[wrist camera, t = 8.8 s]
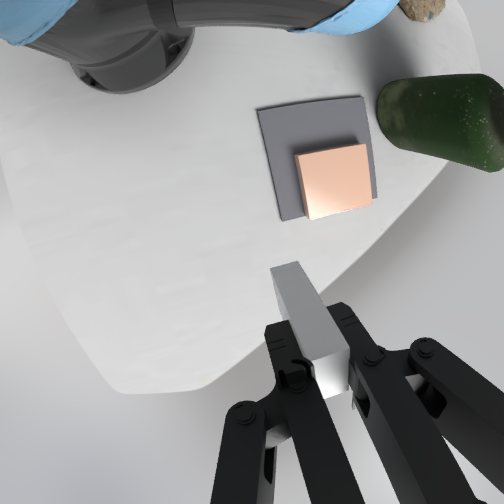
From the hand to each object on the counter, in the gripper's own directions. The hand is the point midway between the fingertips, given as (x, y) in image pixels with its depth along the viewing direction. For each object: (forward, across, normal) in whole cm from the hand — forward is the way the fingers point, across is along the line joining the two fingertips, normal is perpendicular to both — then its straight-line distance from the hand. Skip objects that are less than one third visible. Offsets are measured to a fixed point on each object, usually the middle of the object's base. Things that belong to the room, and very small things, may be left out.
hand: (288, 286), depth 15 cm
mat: (+21, +11, +2) cm, 24 cm away
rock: (+22, +34, +27) cm, 48 cm away
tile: (+19, +7, 0) cm, 21 cm away
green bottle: (+21, +25, +7) cm, 33 cm away
